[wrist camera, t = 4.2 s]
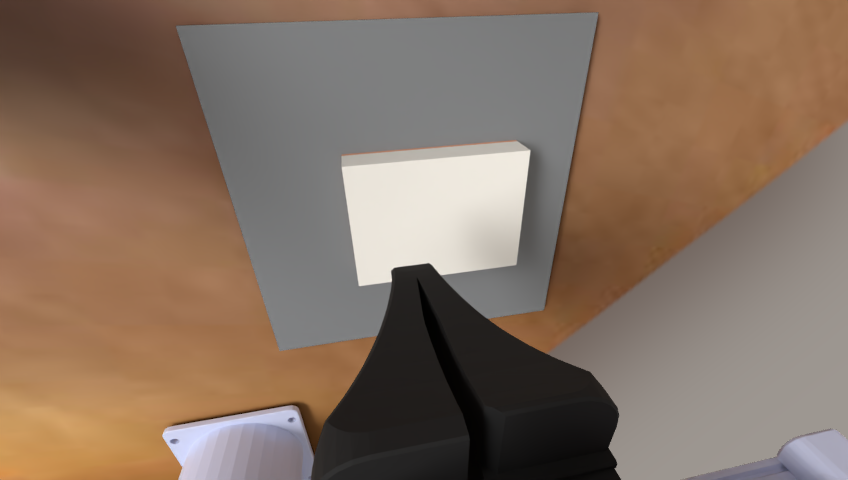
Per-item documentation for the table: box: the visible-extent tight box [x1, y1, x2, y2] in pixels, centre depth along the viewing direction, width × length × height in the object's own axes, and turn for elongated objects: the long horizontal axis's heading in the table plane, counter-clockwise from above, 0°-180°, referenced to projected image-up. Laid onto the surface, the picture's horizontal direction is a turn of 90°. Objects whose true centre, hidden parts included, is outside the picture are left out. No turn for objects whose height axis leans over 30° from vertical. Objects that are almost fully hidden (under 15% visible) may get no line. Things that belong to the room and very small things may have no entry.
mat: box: [176, 12, 599, 351], centre depth 18 cm, size 16×16×1 cm
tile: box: [342, 140, 530, 286], centre depth 18 cm, size 6×2×8 cm
